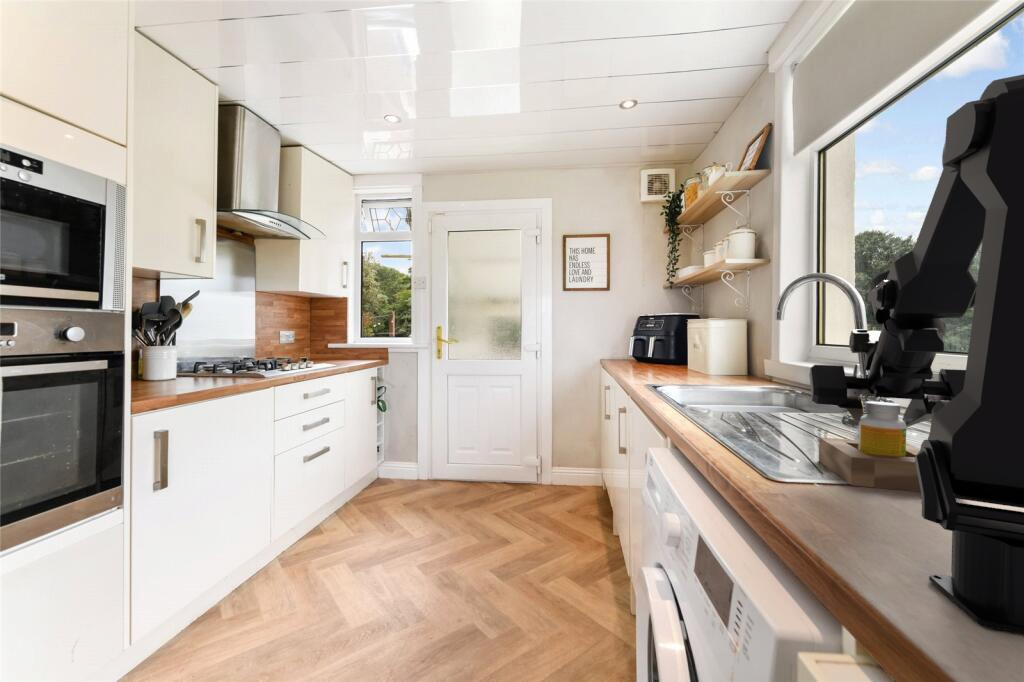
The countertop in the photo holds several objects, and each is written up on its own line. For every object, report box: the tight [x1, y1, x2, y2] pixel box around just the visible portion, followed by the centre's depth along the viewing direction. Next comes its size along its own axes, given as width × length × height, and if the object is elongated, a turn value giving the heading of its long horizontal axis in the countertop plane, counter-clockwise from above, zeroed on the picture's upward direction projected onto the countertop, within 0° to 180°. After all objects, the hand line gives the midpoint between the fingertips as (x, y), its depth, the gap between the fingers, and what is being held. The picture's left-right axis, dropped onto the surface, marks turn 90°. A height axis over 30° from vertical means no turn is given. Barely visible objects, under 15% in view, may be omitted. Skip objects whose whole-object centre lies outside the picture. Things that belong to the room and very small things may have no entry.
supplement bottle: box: [857, 400, 907, 457], centre depth 64 cm, size 5×5×10 cm
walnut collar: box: [818, 436, 921, 493], centre depth 64 cm, size 12×12×4 cm
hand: (879, 422), depth 65 cm, fingers closed on supplement bottle, 5 cm apart
